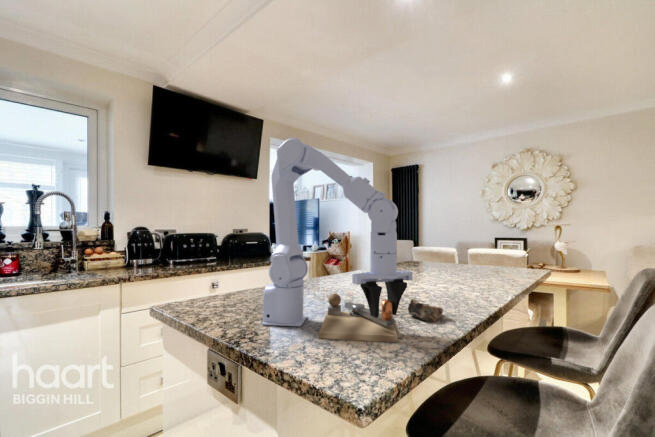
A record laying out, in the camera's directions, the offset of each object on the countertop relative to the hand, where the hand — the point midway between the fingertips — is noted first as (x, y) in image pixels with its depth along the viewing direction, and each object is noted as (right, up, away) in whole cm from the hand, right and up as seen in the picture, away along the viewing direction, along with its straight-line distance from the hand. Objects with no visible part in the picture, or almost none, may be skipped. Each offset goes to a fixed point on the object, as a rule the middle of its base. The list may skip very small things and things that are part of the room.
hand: (383, 315), depth 64 cm
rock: (+13, -5, +13) cm, 19 cm away
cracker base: (-5, -4, +4) cm, 8 cm away
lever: (-3, -2, +7) cm, 8 cm away
